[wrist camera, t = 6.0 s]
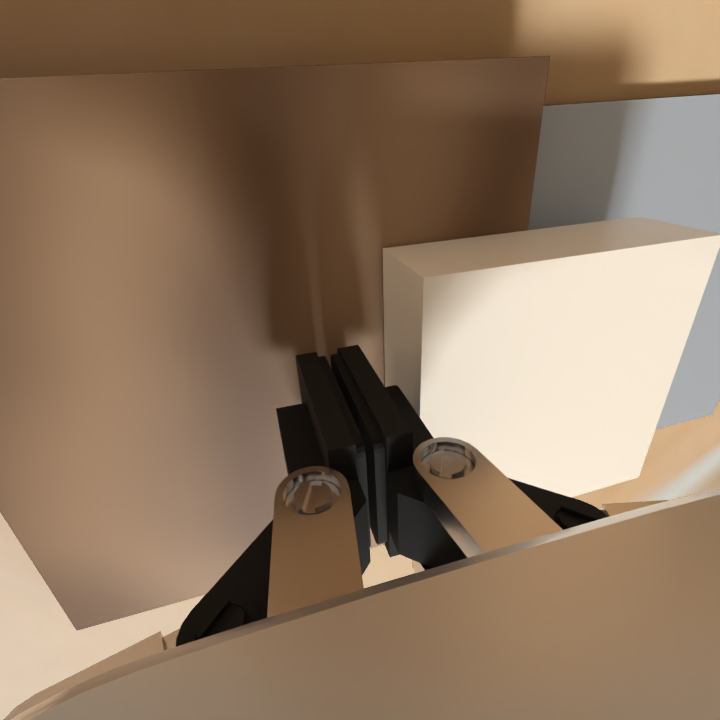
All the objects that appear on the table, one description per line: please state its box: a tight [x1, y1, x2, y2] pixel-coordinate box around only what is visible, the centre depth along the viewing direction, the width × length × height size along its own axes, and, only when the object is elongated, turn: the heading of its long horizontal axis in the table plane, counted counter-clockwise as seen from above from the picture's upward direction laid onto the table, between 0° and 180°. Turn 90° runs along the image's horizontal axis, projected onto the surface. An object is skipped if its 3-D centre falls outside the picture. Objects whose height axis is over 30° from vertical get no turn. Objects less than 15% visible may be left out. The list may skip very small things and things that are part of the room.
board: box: [0, 56, 550, 630], centre depth 13 cm, size 15×15×2 cm
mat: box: [528, 94, 720, 429], centre depth 16 cm, size 12×13×1 cm
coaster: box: [383, 216, 720, 497], centre depth 13 cm, size 8×8×2 cm
